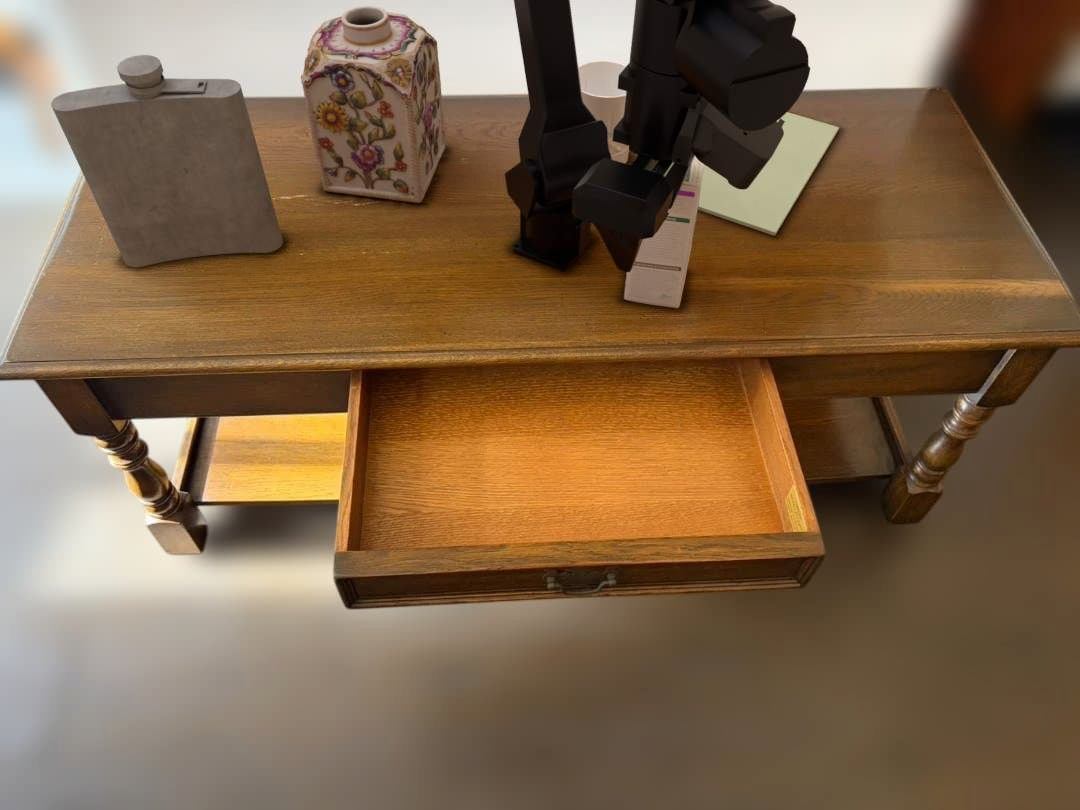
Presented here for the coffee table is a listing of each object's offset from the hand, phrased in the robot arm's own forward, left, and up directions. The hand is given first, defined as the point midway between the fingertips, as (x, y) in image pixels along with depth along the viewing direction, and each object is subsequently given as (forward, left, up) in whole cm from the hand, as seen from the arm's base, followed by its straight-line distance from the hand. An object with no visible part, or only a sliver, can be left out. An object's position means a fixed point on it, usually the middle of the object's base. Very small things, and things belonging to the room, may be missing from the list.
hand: (645, 237), depth 69 cm
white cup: (-17, +26, -13) cm, 34 cm away
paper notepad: (0, +35, -13) cm, 37 cm away
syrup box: (-2, +9, -13) cm, 16 cm away
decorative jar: (-37, +11, -13) cm, 40 cm away
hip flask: (-45, -10, -13) cm, 47 cm away
